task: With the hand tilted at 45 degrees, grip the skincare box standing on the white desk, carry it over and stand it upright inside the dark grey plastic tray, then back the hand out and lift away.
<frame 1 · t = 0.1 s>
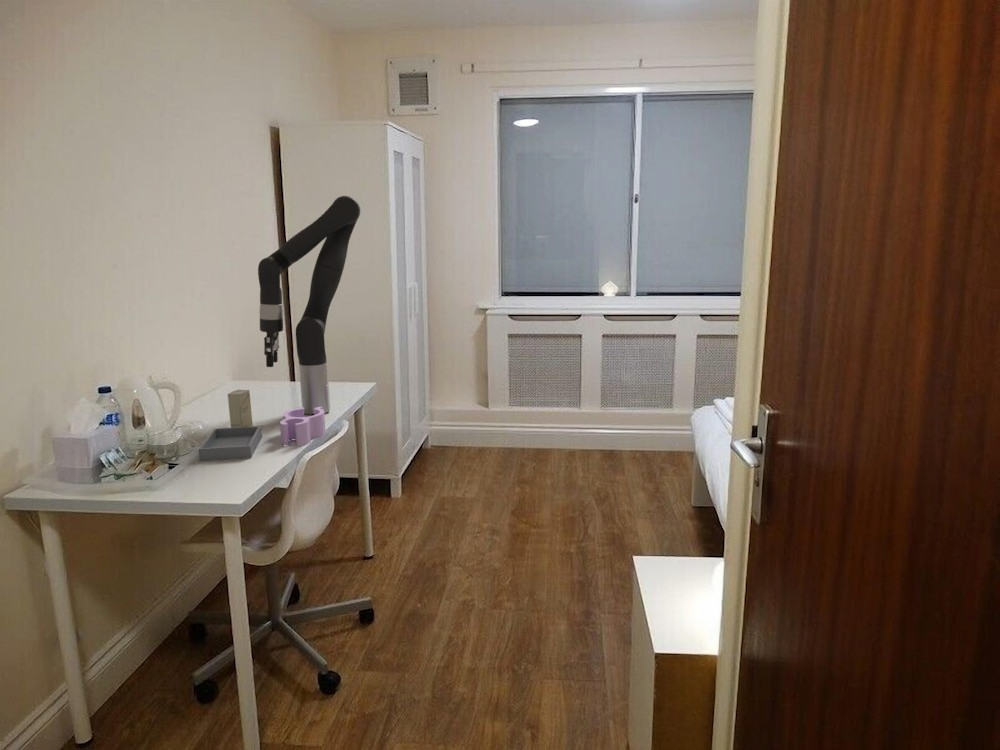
hand: (272, 364, 246), 17 cm above the table, tool pointing down, fingers open, 8 cm apart
skincare box: (242, 428, 233), on the table
tray: (232, 448, 213), on the table
clip: (302, 437, 225), on the table
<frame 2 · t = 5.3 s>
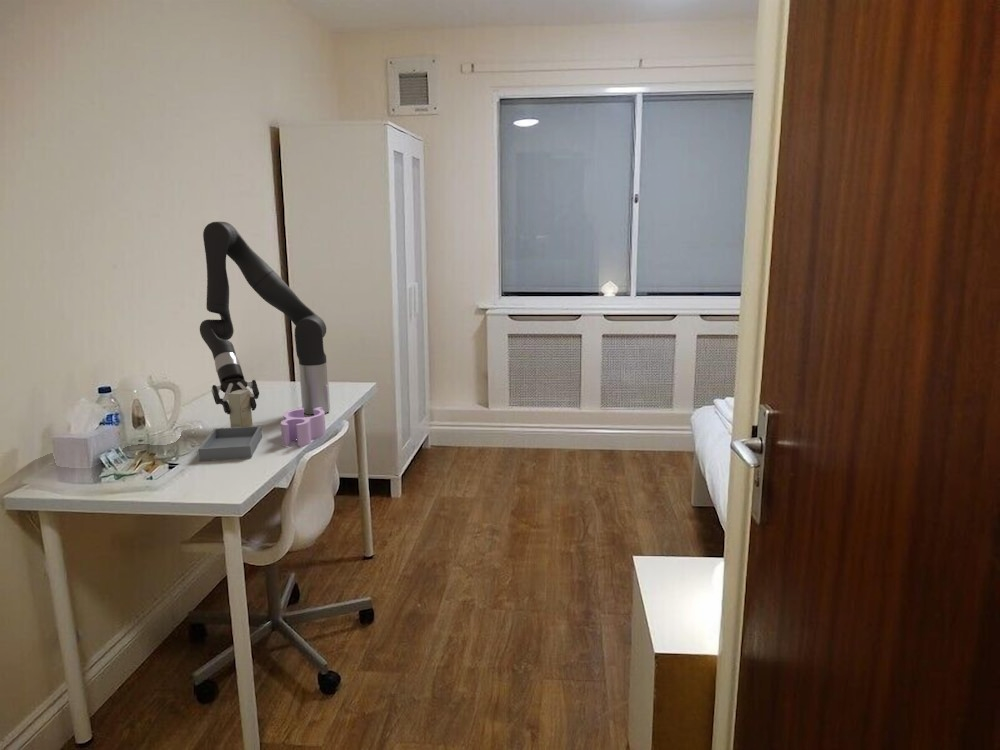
hand: (241, 411, 231), 6 cm above the table, tool tilted 45°, fingers closed on skincare box, 7 cm apart
skincare box: (242, 428, 233), on the table, touching gripper
everything else where it was.
when the fingers open (8 cm above the table, at t = 12.1 s): skincare box drops 1 cm, resting on tray.
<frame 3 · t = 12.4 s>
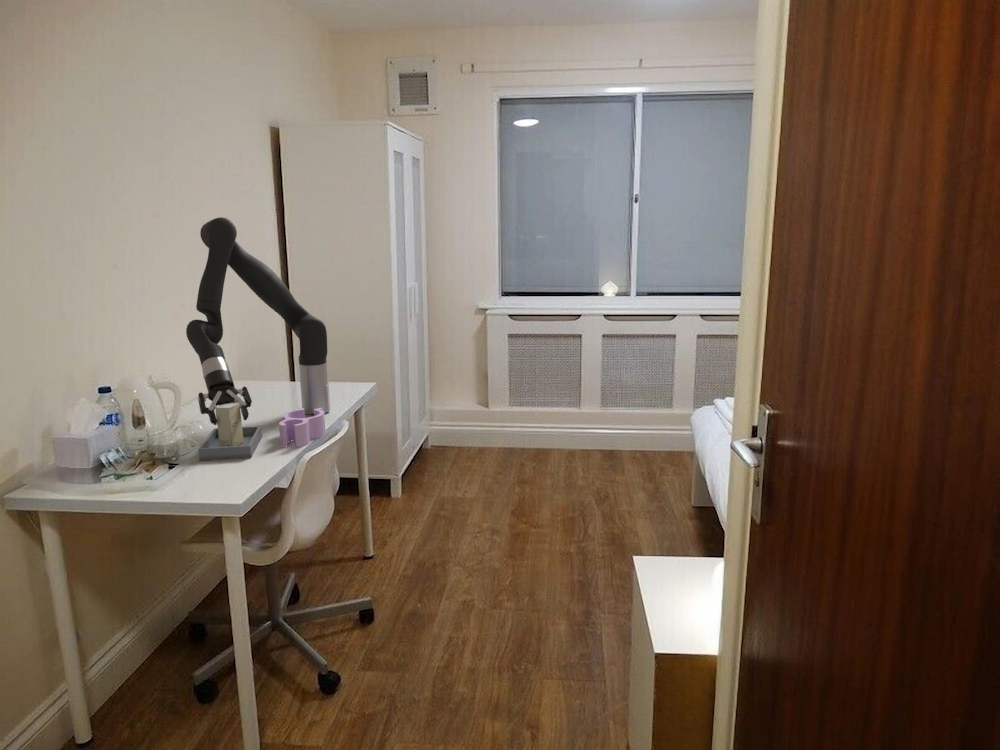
hand: (230, 421, 210), 9 cm above the table, tool tilted 45°, fingers open, 8 cm apart
skincare box: (232, 445, 213), point 1 cm above the table, touching tray
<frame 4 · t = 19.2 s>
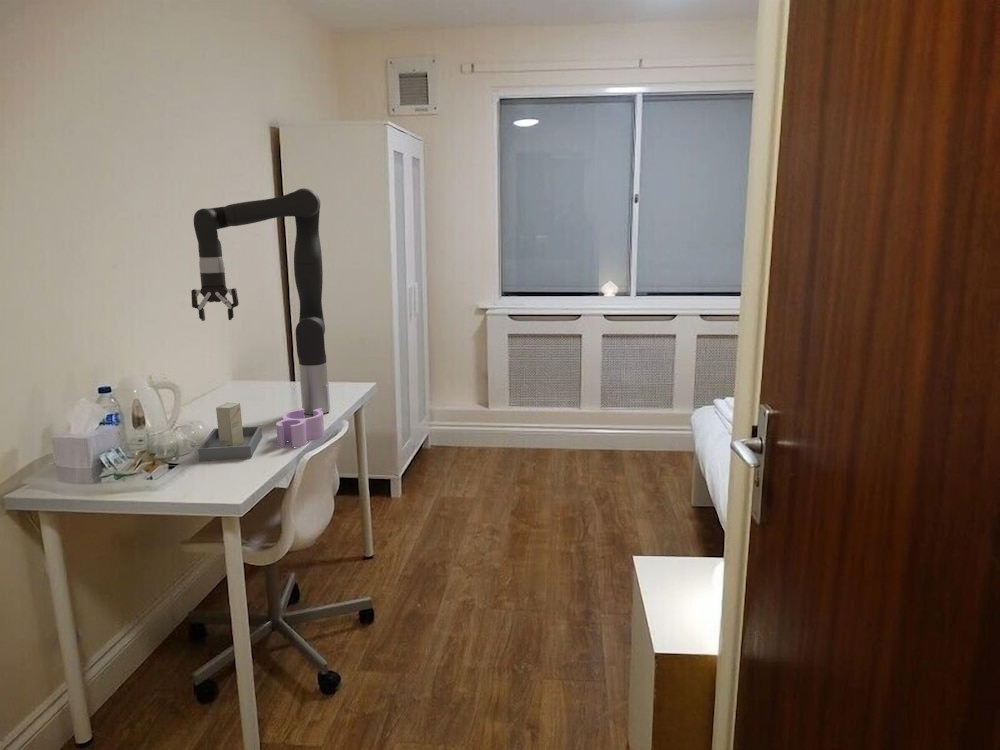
hand: (216, 320, 240), 33 cm above the table, tool pointing down, fingers open, 8 cm apart
at the end: skincare box inside the target area on the tray (0.2 cm from its centre), point 0.8 cm above the tray's base; skincare box tilted 0°; the gripper is holding nothing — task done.
